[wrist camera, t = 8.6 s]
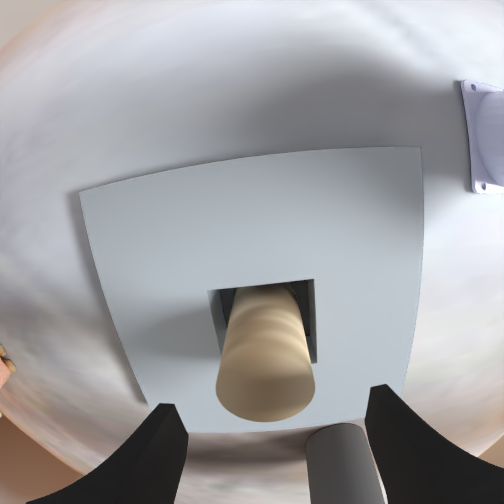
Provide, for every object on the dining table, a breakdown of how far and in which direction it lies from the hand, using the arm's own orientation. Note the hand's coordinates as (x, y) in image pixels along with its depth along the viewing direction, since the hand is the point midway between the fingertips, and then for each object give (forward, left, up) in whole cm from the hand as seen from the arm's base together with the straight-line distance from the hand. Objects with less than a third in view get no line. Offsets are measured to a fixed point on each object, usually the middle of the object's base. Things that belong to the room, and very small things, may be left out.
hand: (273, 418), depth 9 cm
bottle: (-5, +16, -10) cm, 19 cm away
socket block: (0, 0, -9) cm, 9 cm away
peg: (0, 0, -9) cm, 9 cm away
